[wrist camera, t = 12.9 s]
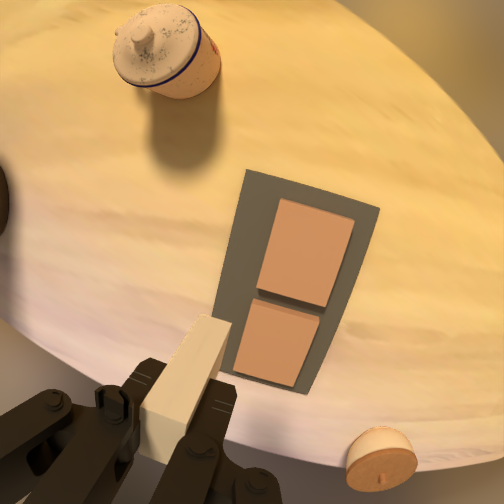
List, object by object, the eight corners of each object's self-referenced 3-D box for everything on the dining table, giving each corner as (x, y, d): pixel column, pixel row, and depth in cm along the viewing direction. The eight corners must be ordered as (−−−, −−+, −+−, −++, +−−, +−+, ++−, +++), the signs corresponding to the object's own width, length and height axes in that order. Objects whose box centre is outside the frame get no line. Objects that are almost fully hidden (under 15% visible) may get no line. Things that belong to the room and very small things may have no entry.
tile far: (232, 370, 39) (292, 386, 38) (251, 303, 36) (319, 322, 36) (235, 363, 41) (293, 379, 40) (253, 297, 38) (319, 316, 37)
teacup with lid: (239, 50, 31) (210, 7, 20) (194, 115, 34) (148, 97, 23) (160, 15, 31) (114, -23, 19) (121, 74, 33) (63, 53, 22)
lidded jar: (330, 442, 43) (330, 488, 34) (382, 406, 40) (393, 452, 31) (370, 464, 44) (375, 505, 35) (420, 432, 41) (432, 473, 32)
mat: (202, 361, 42) (201, 364, 42) (247, 169, 34) (246, 169, 34) (307, 391, 41) (307, 394, 40) (378, 207, 33) (380, 208, 33)
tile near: (256, 287, 36) (325, 307, 35) (280, 199, 33) (354, 221, 32) (258, 282, 37) (324, 301, 36) (281, 197, 34) (352, 218, 33)
